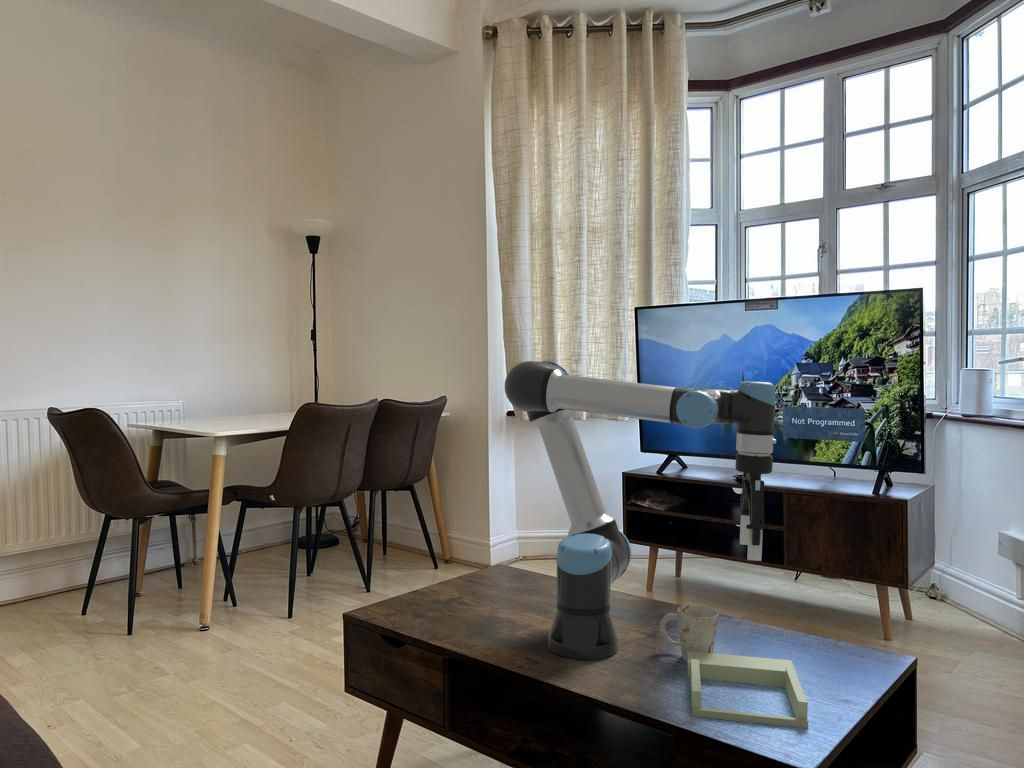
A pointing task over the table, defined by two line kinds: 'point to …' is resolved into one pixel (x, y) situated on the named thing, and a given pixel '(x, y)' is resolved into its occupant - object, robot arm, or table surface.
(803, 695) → the pale green rectangular frame
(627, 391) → the robot arm
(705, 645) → the mug
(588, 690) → the table surface
